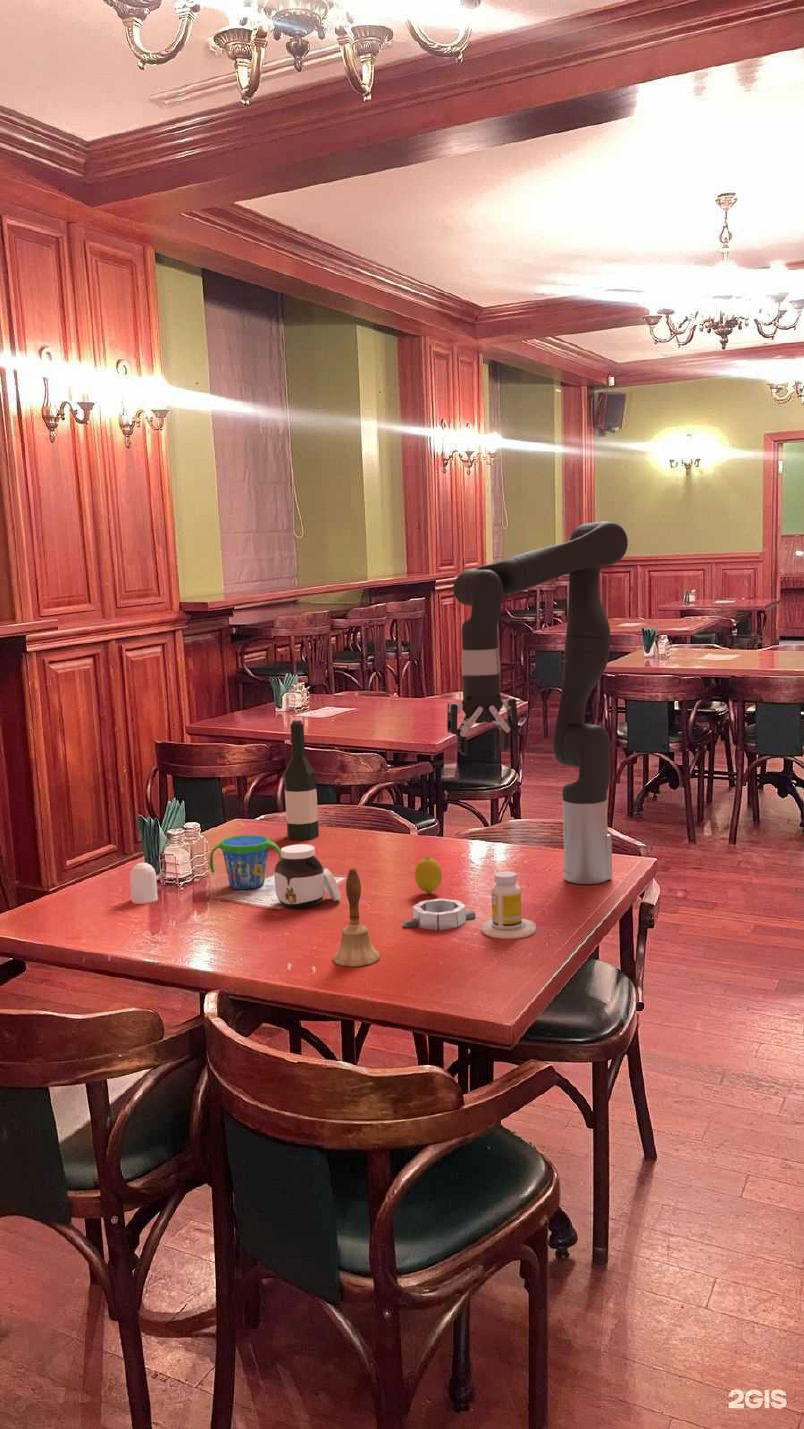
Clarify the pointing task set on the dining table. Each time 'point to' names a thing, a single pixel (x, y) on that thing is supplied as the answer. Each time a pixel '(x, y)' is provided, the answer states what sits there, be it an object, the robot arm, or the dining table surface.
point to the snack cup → (245, 859)
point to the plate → (509, 930)
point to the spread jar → (302, 878)
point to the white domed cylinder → (143, 884)
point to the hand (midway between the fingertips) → (483, 752)
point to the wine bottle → (300, 790)
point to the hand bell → (355, 931)
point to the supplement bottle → (506, 901)
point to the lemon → (428, 875)
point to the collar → (439, 914)
